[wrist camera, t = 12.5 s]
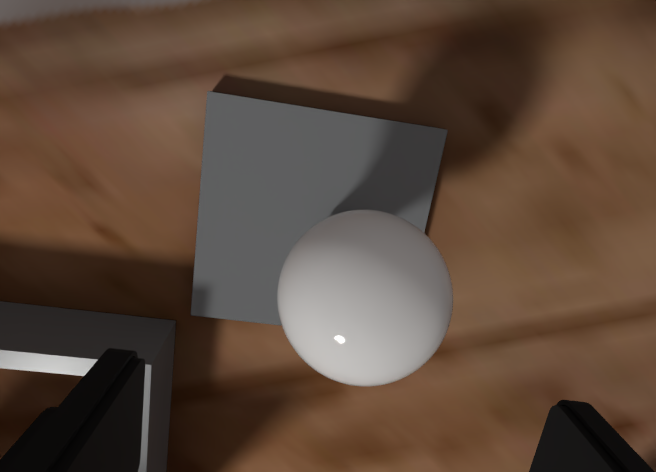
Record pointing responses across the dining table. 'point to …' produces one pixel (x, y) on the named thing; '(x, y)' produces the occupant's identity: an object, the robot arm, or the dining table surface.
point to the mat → (293, 190)
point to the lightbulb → (365, 297)
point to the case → (96, 357)
